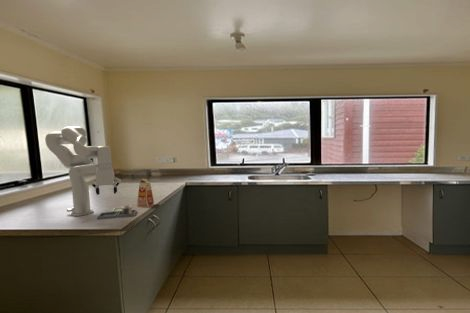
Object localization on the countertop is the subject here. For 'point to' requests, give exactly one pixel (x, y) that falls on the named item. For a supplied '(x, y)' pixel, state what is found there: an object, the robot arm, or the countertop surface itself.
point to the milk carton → (145, 194)
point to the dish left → (108, 215)
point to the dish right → (127, 214)
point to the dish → (117, 209)
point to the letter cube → (127, 209)
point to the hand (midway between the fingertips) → (106, 193)
